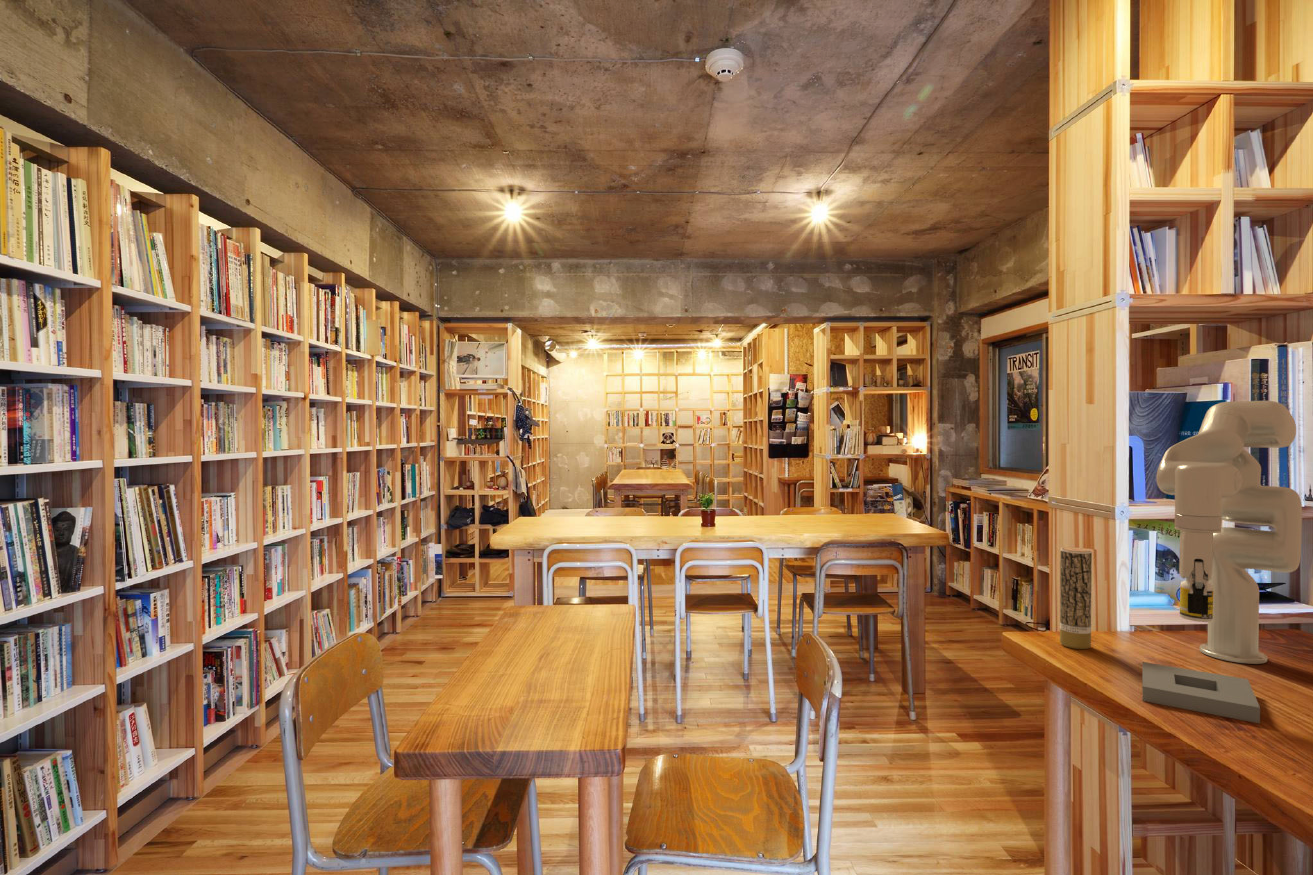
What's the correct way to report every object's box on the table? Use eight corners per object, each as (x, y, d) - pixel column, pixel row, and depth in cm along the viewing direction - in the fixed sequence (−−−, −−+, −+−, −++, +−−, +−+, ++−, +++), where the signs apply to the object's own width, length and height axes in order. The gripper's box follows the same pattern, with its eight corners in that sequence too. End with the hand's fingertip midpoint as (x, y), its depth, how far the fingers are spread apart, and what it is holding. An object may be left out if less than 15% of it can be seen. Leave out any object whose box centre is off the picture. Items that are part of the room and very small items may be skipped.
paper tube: (1095, 651, 168) (1096, 552, 168) (1066, 649, 169) (1066, 551, 169) (1084, 642, 174) (1084, 547, 174) (1055, 641, 176) (1056, 546, 176)
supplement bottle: (1205, 624, 135) (1205, 575, 135) (1174, 617, 140) (1174, 570, 140) (1218, 620, 138) (1218, 573, 138) (1187, 614, 142) (1188, 568, 142)
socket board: (1142, 674, 151) (1142, 661, 151) (1247, 693, 141) (1247, 679, 141) (1142, 700, 137) (1142, 686, 137) (1259, 723, 126) (1260, 707, 126)
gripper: (1173, 517, 148) (1172, 599, 148) (1176, 526, 134) (1175, 616, 134) (1217, 520, 143) (1216, 604, 143) (1225, 530, 129) (1224, 623, 130)
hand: (1196, 609), depth 139 cm, fingers closed on supplement bottle, 5 cm apart
